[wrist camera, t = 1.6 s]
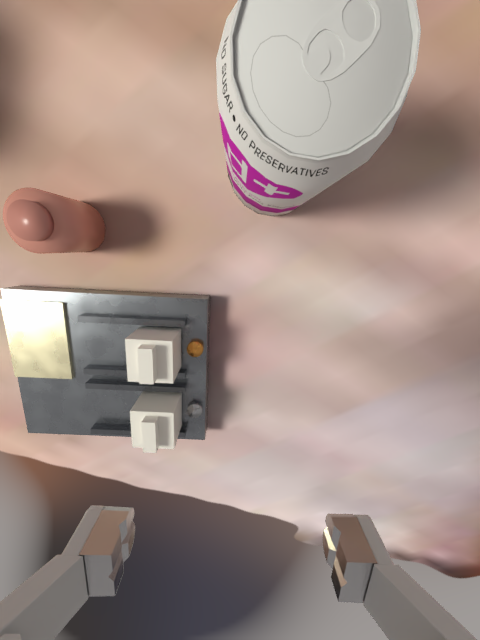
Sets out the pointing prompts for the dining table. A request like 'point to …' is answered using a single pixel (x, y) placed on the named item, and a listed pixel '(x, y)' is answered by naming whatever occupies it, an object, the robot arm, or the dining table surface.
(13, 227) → the cap
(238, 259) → the dining table surface
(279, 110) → the supplement can
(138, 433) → the toggle
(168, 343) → the toggle
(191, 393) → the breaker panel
